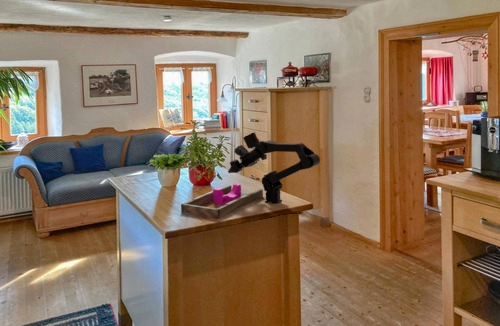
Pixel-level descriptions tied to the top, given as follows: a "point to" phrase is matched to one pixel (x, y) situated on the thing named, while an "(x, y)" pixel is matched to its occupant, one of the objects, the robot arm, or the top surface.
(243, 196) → the wooden tray
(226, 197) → the toy block
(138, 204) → the top surface
